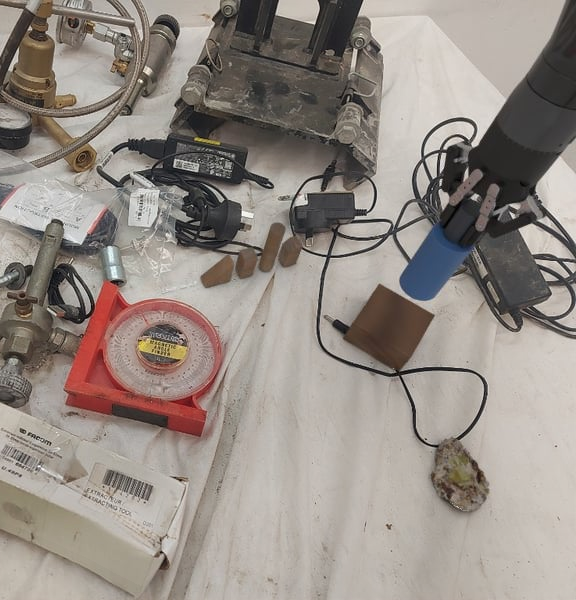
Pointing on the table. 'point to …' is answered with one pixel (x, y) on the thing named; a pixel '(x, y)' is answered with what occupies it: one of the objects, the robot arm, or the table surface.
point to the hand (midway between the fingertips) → (456, 233)
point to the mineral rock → (459, 476)
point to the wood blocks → (254, 258)
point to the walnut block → (389, 327)
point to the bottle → (439, 254)
